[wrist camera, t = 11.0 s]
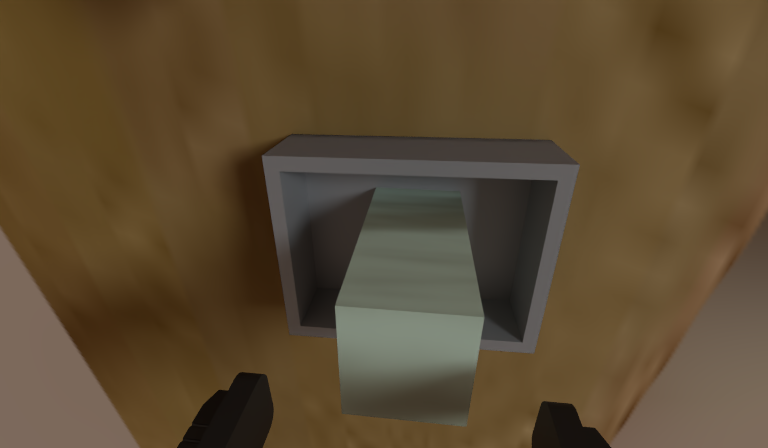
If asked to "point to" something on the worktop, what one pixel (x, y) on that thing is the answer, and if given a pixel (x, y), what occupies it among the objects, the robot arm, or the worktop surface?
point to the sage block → (410, 311)
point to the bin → (427, 172)
